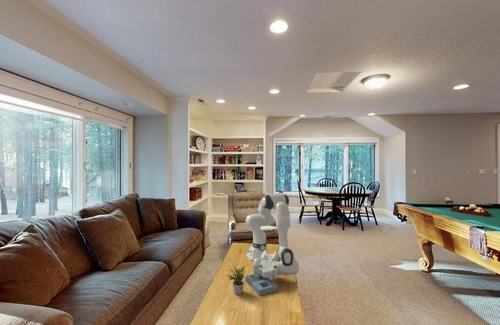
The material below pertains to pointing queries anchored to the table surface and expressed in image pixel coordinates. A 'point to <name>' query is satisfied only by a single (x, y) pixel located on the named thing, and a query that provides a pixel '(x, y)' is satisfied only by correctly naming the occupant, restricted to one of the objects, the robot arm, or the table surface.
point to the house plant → (237, 280)
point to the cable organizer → (269, 256)
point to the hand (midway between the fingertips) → (255, 268)
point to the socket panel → (261, 284)
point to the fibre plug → (256, 265)
